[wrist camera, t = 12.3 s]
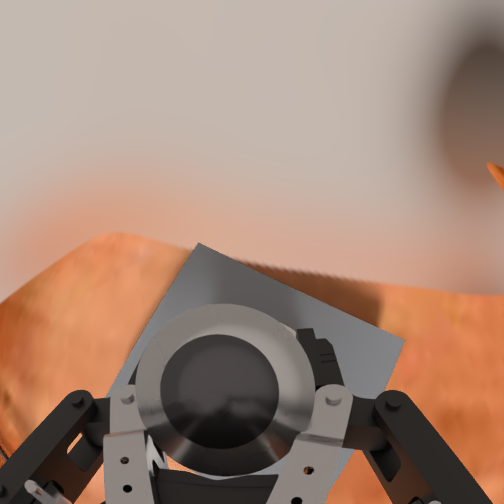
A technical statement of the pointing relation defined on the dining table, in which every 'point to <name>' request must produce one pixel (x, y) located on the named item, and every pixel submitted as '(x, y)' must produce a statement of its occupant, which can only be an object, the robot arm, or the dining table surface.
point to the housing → (225, 389)
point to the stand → (285, 312)
